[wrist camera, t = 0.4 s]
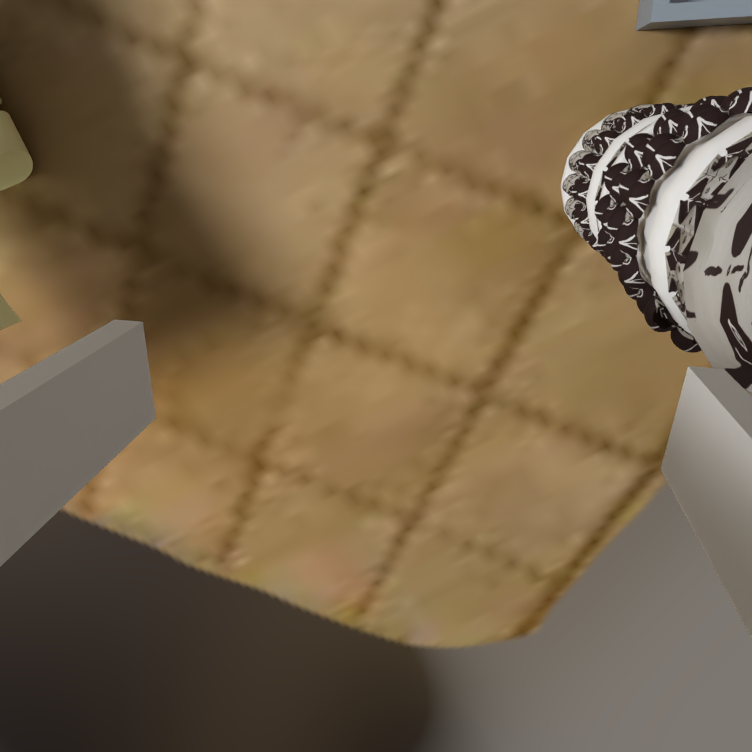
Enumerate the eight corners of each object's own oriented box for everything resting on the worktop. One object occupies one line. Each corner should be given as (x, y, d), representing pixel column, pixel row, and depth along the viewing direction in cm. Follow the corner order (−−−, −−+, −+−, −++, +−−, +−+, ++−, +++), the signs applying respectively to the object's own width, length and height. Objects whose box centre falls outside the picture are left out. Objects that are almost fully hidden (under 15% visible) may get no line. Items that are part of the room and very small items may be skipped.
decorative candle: (730, 217, 37) (1156, 374, 14) (582, 277, 39) (735, 492, 17) (688, 69, 34) (1132, -36, 11) (533, 145, 37) (634, 185, 14)
